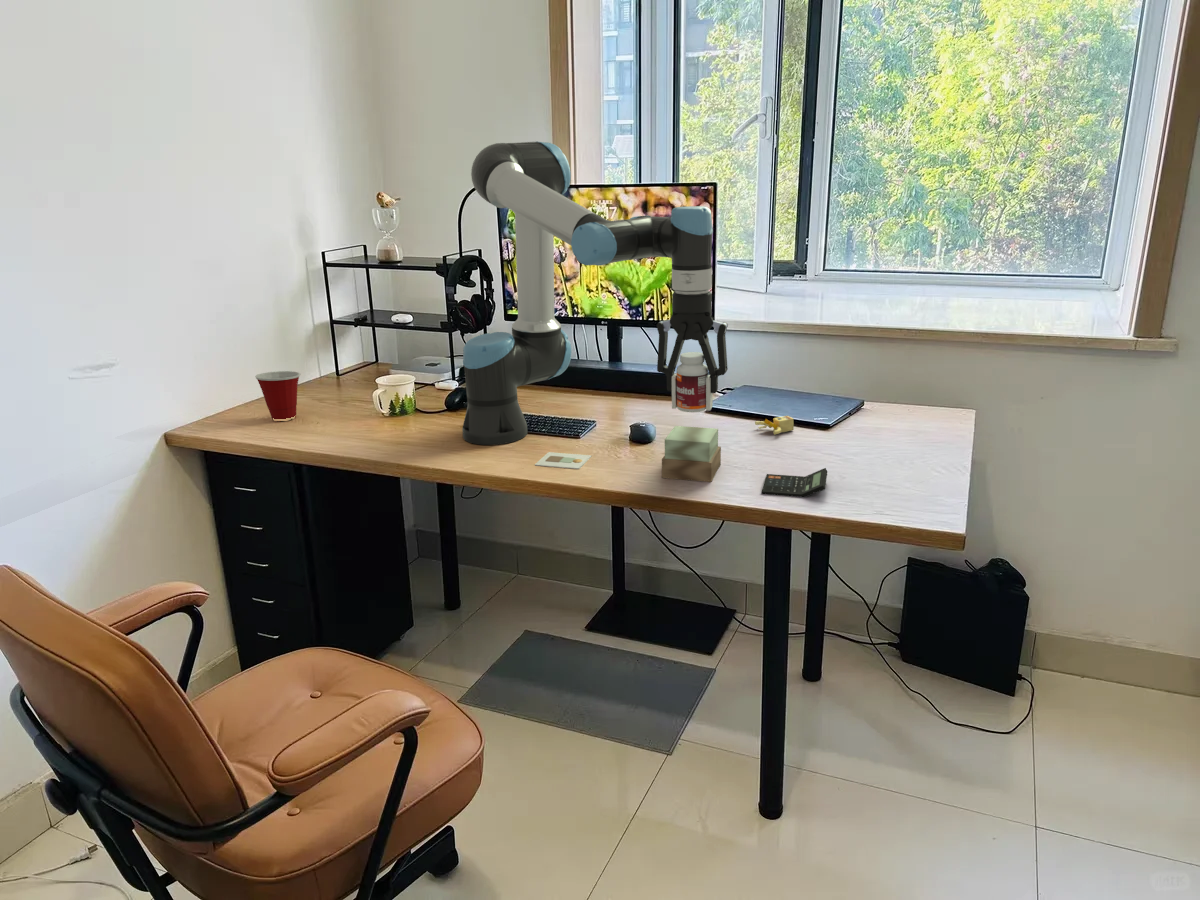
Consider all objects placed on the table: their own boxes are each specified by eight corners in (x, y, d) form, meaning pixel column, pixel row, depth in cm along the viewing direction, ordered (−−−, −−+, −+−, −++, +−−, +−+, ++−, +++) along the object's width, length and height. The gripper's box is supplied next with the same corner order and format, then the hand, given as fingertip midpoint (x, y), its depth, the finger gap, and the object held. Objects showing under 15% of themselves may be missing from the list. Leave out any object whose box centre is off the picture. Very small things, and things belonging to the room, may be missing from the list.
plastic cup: (316, 415, 222) (309, 370, 218) (283, 426, 214) (276, 380, 210) (286, 410, 227) (279, 366, 223) (253, 422, 218) (245, 376, 214)
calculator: (766, 477, 170) (767, 463, 169) (826, 482, 167) (827, 467, 166) (761, 495, 162) (761, 480, 161) (824, 500, 159) (825, 485, 158)
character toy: (752, 415, 198) (782, 411, 200) (752, 428, 199) (782, 424, 201) (769, 425, 190) (800, 420, 193) (769, 439, 192) (799, 434, 194)
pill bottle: (670, 409, 170) (669, 355, 167) (690, 402, 174) (690, 349, 170) (693, 415, 166) (693, 359, 162) (714, 408, 170) (714, 353, 166)
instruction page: (534, 465, 181) (534, 464, 181) (548, 452, 188) (548, 451, 188) (579, 469, 178) (579, 467, 178) (591, 456, 185) (591, 455, 185)
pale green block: (662, 477, 171) (661, 440, 169) (673, 461, 180) (673, 425, 178) (711, 482, 168) (711, 443, 166) (720, 464, 177) (721, 428, 175)
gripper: (637, 293, 162) (640, 410, 169) (739, 294, 156) (737, 415, 164) (648, 287, 169) (650, 400, 176) (745, 288, 163) (743, 404, 170)
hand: (692, 407), depth 170 cm, fingers closed on pill bottle, 6 cm apart
